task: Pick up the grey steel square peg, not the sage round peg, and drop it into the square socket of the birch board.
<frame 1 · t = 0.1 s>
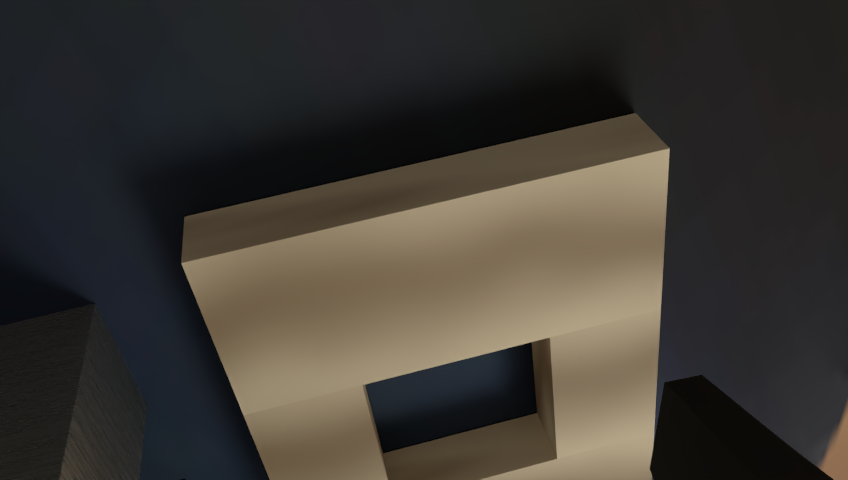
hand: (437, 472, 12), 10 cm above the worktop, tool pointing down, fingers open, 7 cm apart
square peg: (50, 374, 22), on the worktop
socket board: (451, 377, 25), on the worktop
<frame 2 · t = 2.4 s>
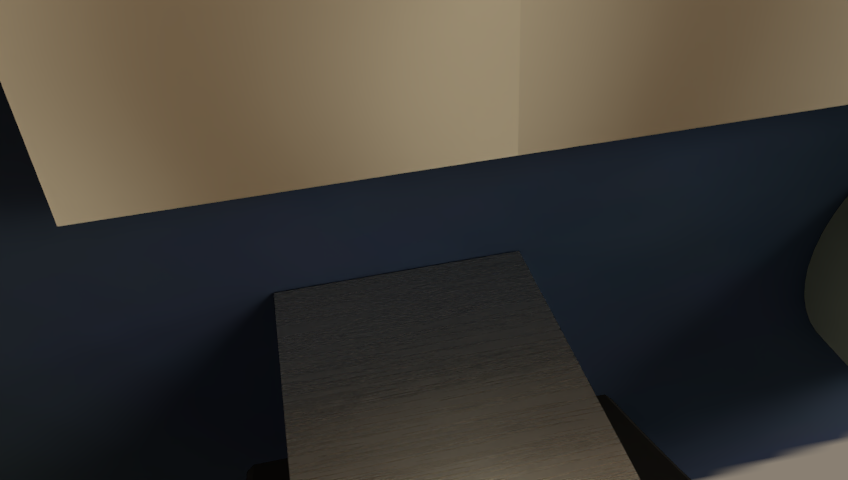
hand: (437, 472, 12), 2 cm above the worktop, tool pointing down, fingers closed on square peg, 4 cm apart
square peg: (407, 361, 14), on the worktop, touching gripper
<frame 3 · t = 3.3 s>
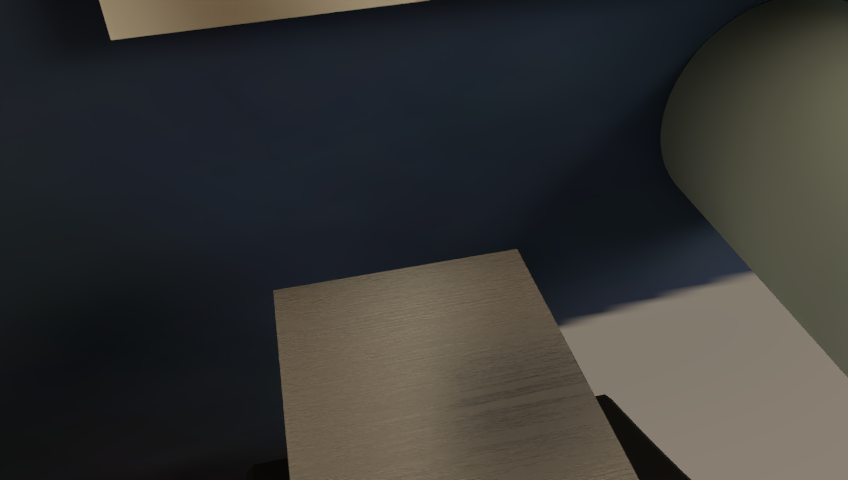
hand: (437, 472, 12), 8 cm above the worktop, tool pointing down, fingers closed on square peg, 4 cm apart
square peg: (406, 359, 14), point 6 cm above the worktop, touching gripper
round peg: (770, 109, 20), on the worktop
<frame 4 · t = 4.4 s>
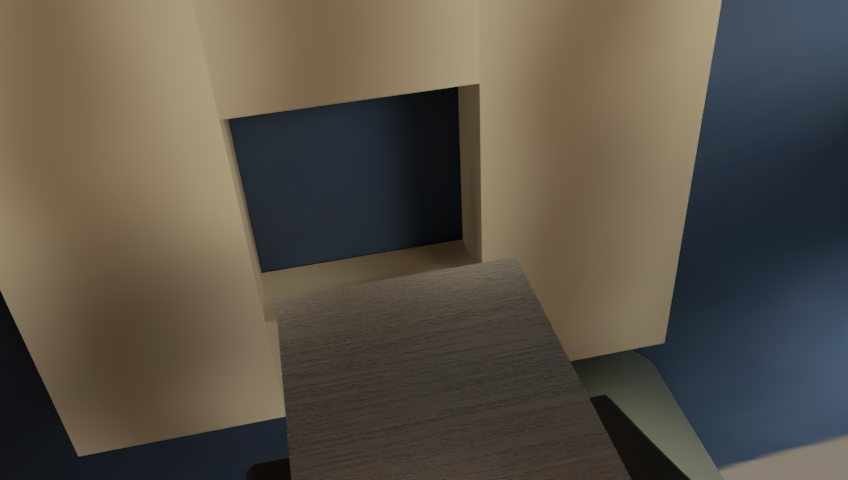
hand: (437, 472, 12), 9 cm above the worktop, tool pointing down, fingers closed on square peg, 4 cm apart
square peg: (406, 365, 14), point 7 cm above the worktop, touching gripper
socket board: (353, 167, 19), on the worktop
round peg: (579, 410, 26), on the worktop
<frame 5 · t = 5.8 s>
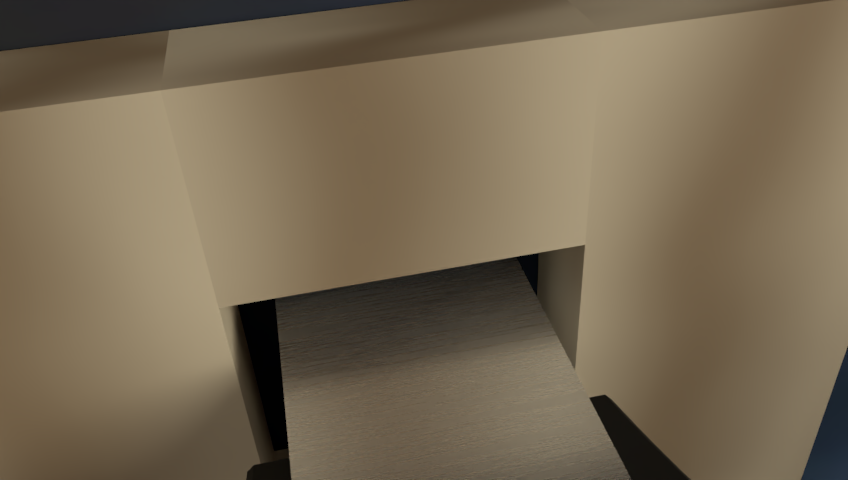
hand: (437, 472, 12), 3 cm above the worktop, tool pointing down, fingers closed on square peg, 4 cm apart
square peg: (406, 365, 14), point 1 cm above the worktop, touching gripper
socket board: (396, 325, 15), on the worktop
when the fingers open (3 cm above the worktop, at t = 6.8 s): square peg stays where it is, resting in socket board.
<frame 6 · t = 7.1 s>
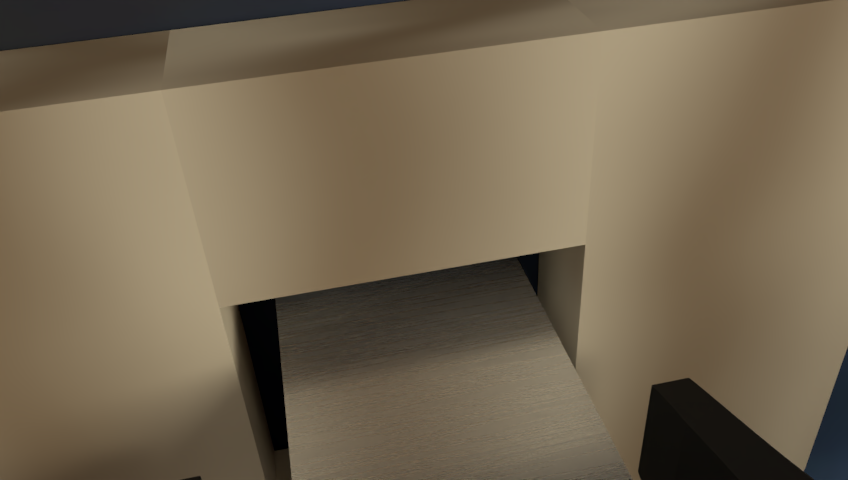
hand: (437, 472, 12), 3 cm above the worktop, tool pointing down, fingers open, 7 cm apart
square peg: (397, 332, 15), resting in socket board
socket board: (397, 325, 15), on the worktop
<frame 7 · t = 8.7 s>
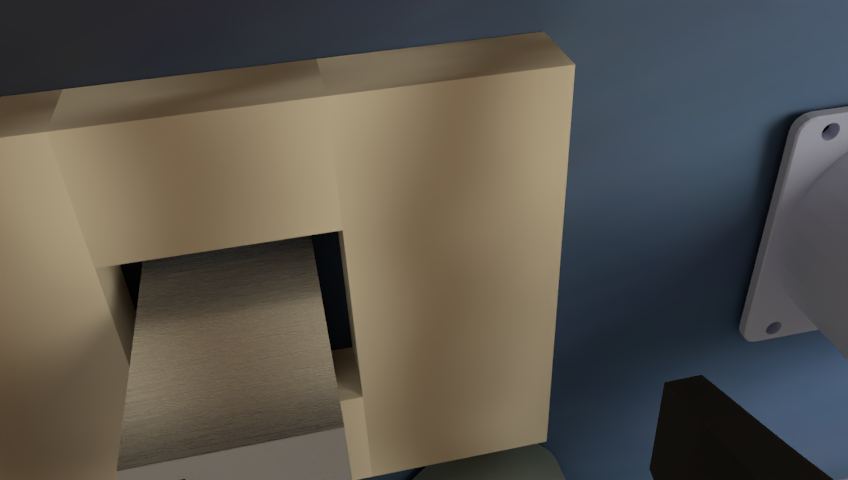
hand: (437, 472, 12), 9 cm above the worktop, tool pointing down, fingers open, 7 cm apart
square peg: (242, 293, 21), resting in socket board
socket board: (240, 288, 21), on the worktop
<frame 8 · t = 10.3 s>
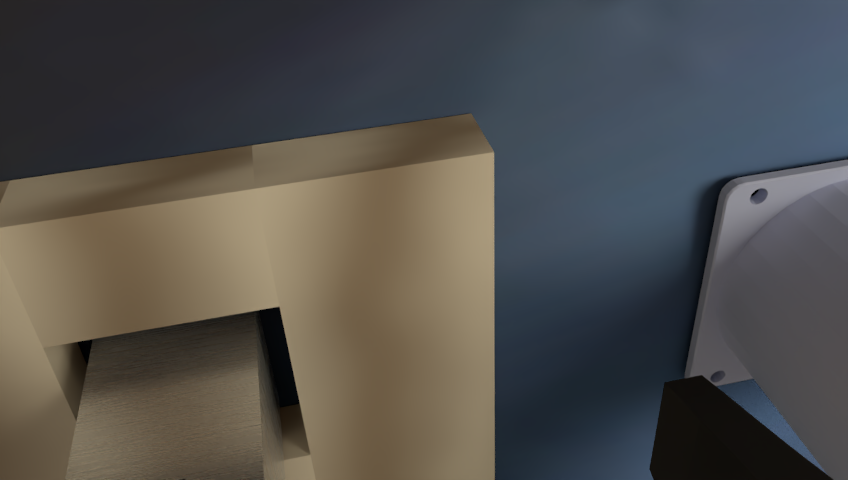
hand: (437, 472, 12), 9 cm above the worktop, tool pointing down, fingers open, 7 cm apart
square peg: (193, 357, 22), resting in socket board
socket board: (191, 353, 22), on the worktop
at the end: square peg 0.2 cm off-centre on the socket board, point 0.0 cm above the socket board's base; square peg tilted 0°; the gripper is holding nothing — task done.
